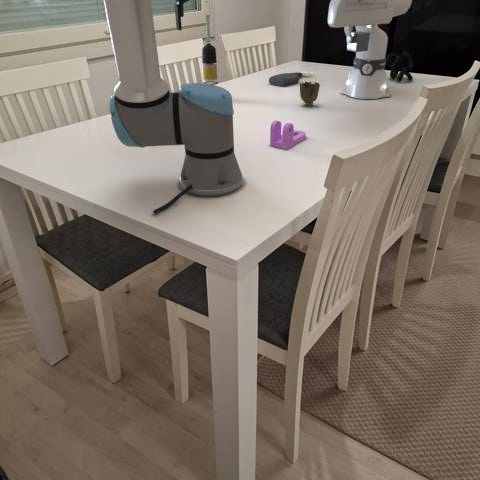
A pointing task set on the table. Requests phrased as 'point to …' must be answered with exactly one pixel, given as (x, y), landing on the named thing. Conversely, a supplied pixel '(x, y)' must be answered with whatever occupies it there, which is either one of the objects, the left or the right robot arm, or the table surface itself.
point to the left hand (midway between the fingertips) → (156, 31)
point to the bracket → (284, 135)
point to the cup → (309, 92)
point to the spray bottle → (288, 78)
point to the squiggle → (399, 66)
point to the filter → (209, 58)
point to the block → (359, 42)
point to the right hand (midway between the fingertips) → (358, 42)
